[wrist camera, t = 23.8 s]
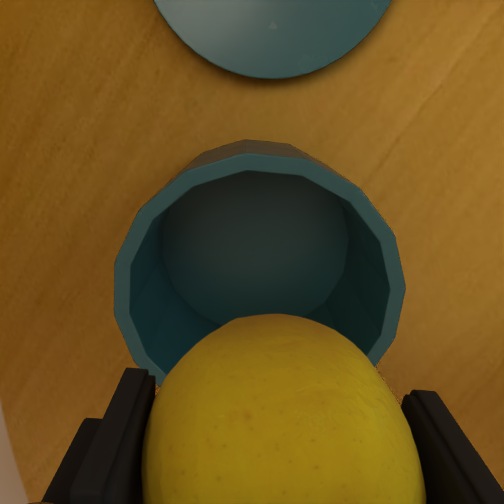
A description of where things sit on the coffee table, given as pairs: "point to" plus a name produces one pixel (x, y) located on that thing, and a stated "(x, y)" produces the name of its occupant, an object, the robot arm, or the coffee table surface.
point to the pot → (255, 255)
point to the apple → (278, 422)
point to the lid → (272, 32)
